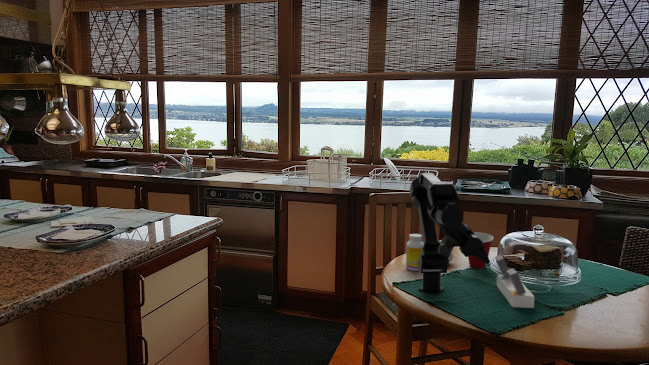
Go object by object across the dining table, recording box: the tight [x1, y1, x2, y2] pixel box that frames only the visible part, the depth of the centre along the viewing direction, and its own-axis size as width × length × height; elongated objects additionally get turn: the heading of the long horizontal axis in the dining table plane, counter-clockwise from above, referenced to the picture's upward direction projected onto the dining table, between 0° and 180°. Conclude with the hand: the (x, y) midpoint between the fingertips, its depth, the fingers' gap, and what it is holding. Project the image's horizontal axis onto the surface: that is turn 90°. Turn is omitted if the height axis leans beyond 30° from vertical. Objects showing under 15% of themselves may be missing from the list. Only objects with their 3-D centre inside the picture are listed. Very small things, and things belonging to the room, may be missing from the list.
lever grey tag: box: [494, 254, 510, 279], centre depth 145 cm, size 2×4×7 cm, turn 173°
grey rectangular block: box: [507, 267, 526, 295], centre depth 131 cm, size 2×4×7 cm, turn 173°
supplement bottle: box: [405, 233, 424, 272], centre depth 166 cm, size 7×7×13 cm
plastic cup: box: [467, 231, 494, 270], centre depth 168 cm, size 11×11×12 cm
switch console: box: [496, 274, 535, 309], centre depth 139 cm, size 6×18×4 cm, turn 173°
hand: (485, 259), depth 132 cm, fingers open, 7 cm apart
